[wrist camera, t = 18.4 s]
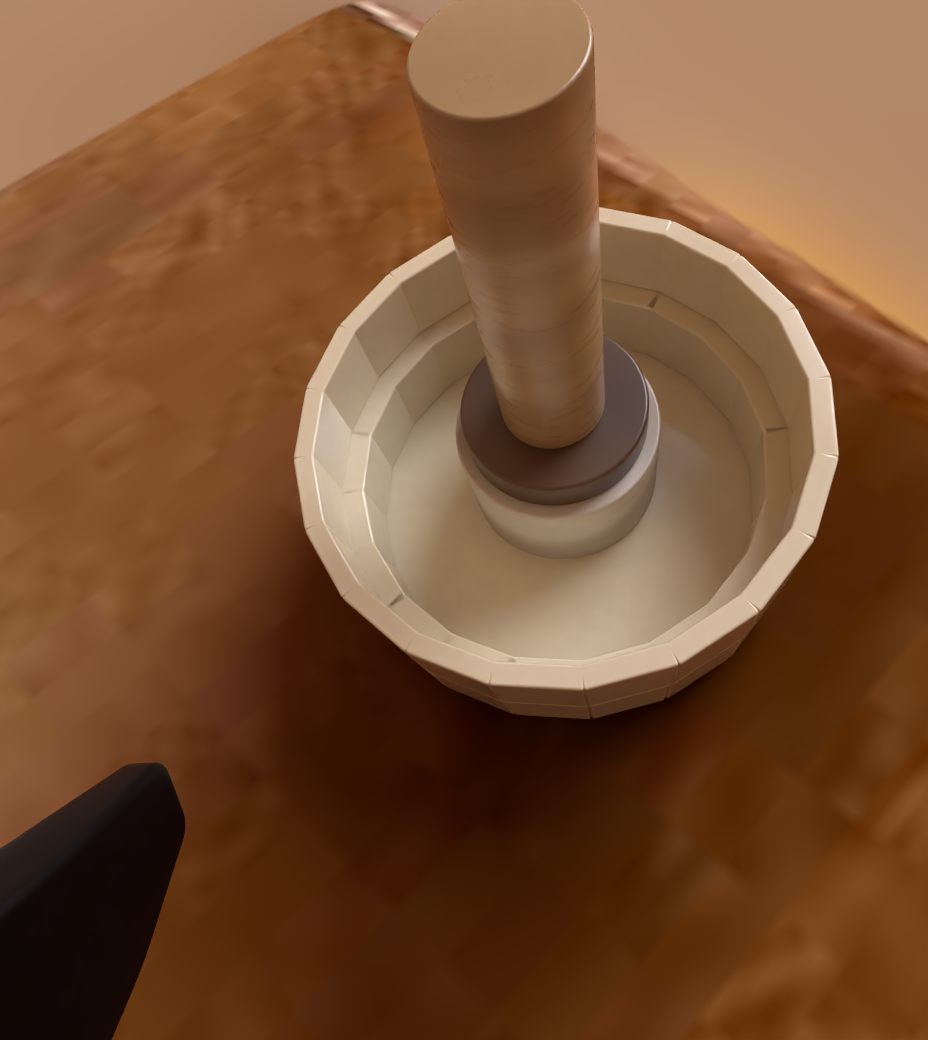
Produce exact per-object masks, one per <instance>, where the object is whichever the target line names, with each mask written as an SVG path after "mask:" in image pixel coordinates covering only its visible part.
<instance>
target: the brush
mask: <svg viewBox="0 0 928 1040" xmlns="http://www.w3.org/2000/svg"><path fill="white" fill-rule="evenodd" d="M407 78H408V83H409V86H410V90H411V93H412V97H413V100H414V104H415V107H416V111H417V115H418V118H419V122H420V125H421V129H422V132H423V136H424V139H425V143H426V147H427V150H428V154H429V157H430V161H431V164H432V168H433V172H434V175H435V179H436V182H437V186H438V189H439V193H440V196H441V200H442V204H443V207H444V211H445V214H446V218H447V221H448V225H449V228H450V232H451V236H452V239H453V243H454V246H455V250H456V253H457V257H458V260H459V264H460V268H461V271H462V275H463V278H464V282H465V285H466V289H467V293H468V296H469V300H470V303H471V307H472V310H473V314H474V317H475V321H476V325H477V328H478V332H479V335H480V339H481V342H482V346H483V349H484V353H485V357H484V358H483V359H482V360H481V361H480V362H479V364H478V365H477V366H476V368H475V369H474V370H473V372H472V374H471V376H470V377H469V379H468V382H467V384H466V387H465V389H464V392H463V396H462V400H461V407H460V410H459V414H458V417H457V424H456V445H457V450H458V455H459V458H460V461H461V464H462V466H463V469H464V471H465V473H466V476H467V478H468V480H469V483H470V485H471V487H472V490H473V492H474V494H475V497H476V499H477V501H478V504H479V506H480V508H481V510H482V512H483V514H484V516H485V518H486V520H487V521H488V523H489V524H490V525H491V527H492V528H493V529H494V530H495V531H496V532H497V533H498V534H499V535H500V536H501V537H502V538H503V539H505V540H506V541H507V542H508V543H510V544H512V545H513V546H515V547H517V548H518V549H520V550H523V551H525V552H527V553H530V554H533V555H537V556H540V557H546V558H553V559H569V558H579V557H583V556H588V555H591V554H594V553H597V552H600V551H602V550H604V549H606V548H608V547H610V546H612V545H614V544H615V543H617V542H618V541H620V540H621V539H622V538H624V537H625V536H626V535H627V534H628V533H629V532H630V531H631V530H632V529H633V528H634V527H635V526H636V525H637V524H638V522H639V521H640V520H641V518H642V517H643V515H644V514H645V512H646V510H647V508H648V506H649V504H650V501H651V498H652V495H653V492H654V486H655V479H656V469H657V460H658V451H659V441H660V432H661V417H660V411H659V405H658V402H657V399H656V396H655V393H654V391H653V389H652V387H651V385H650V383H649V382H648V381H647V379H646V378H645V376H644V375H643V373H642V371H641V369H640V367H639V366H638V364H637V363H636V361H635V360H634V358H633V357H632V356H631V355H630V354H629V353H628V352H627V351H626V350H625V349H624V348H623V347H622V346H620V345H619V344H618V343H617V342H615V341H614V340H612V339H611V338H609V337H607V336H605V335H603V325H602V292H601V260H600V228H599V196H598V163H597V131H596V101H595V100H596V99H595V67H594V38H593V30H592V26H591V24H590V21H589V18H588V17H587V15H586V13H585V12H584V10H583V9H582V8H581V7H580V5H579V4H578V3H577V2H575V1H574V0H455V1H454V2H452V3H450V4H448V5H447V6H445V7H444V8H442V9H441V10H440V11H438V12H437V13H436V14H435V15H434V16H433V17H432V18H430V19H429V20H428V21H427V22H426V24H425V25H424V26H423V27H422V28H421V30H420V31H419V32H418V34H417V35H416V37H415V39H414V41H413V43H412V45H411V48H410V51H409V54H408V60H407Z"/></svg>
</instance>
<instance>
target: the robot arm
mask: <svg viewBox="0 0 928 1040" xmlns="http://www.w3.org/2000/svg"><path fill="white" fill-rule="evenodd" d="M184 833H185V817H184V813H183V810H182V807H181V805H180V802H179V799H178V797H177V794H176V791H175V789H174V786H173V783H172V781H171V778H170V775H169V773H168V771H167V769H166V768H165V767H164V766H163V765H162V764H159V763H136V764H129V765H126V766H124V767H122V768H121V769H119V770H118V771H116V772H115V773H113V774H112V775H110V776H109V777H107V778H106V779H104V780H103V781H101V782H100V783H98V784H97V785H95V786H94V787H92V788H91V789H89V790H88V791H86V792H85V793H83V794H82V795H80V796H78V797H77V798H75V799H74V800H72V801H71V802H69V803H68V804H66V805H65V806H63V807H62V808H60V809H59V810H57V811H56V812H54V813H53V814H51V815H50V816H48V817H47V818H45V819H44V820H42V821H41V822H39V823H38V824H36V825H35V826H33V827H32V828H30V829H29V830H27V831H26V832H24V833H23V834H21V835H20V836H18V837H17V838H15V839H14V840H12V841H11V842H9V843H8V844H6V845H5V846H3V847H2V848H0V1040H112V1037H113V1035H114V1033H115V1030H116V1028H117V1026H118V1023H119V1021H120V1019H121V1016H122V1014H123V1011H124V1009H125V1007H126V1004H127V1002H128V1000H129V997H130V995H131V993H132V990H133V988H134V985H135V983H136V980H137V978H138V975H139V973H140V970H141V968H142V965H143V962H144V959H145V957H146V954H147V951H148V948H149V945H150V942H151V939H152V936H153V933H154V930H155V926H156V923H157V920H158V917H159V914H160V911H161V907H162V904H163V901H164V898H165V895H166V892H167V889H168V885H169V882H170V879H171V876H172V873H173V870H174V866H175V863H176V860H177V857H178V854H179V851H180V848H181V844H182V841H183V838H184Z"/></svg>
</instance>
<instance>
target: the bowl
mask: <svg viewBox="0 0 928 1040" xmlns="http://www.w3.org/2000/svg"><path fill="white" fill-rule="evenodd" d="M599 228H600V260H601V292H602V325H603V335H605V336H607V337H609V338H611V339H612V340H614V341H615V342H617V343H618V344H619V345H620V346H622V347H623V348H624V349H625V350H626V351H627V352H628V353H629V354H630V355H631V356H632V357H633V358H634V360H635V361H636V363H637V364H638V366H639V367H640V369H641V371H642V373H643V375H644V376H645V378H646V379H647V381H648V382H649V383H650V385H651V387H652V389H653V391H654V393H655V396H656V399H657V402H658V405H659V411H660V417H661V432H660V441H659V451H658V460H657V469H656V479H655V486H654V492H653V495H652V498H651V501H650V504H649V506H648V508H647V510H646V512H645V514H644V515H643V517H642V518H641V520H640V521H639V522H638V524H637V525H636V526H635V527H634V528H633V529H632V530H631V531H630V532H629V533H628V534H627V535H626V536H625V537H624V538H622V539H621V540H620V541H618V542H617V543H615V544H614V545H612V546H610V547H608V548H606V549H604V550H602V551H600V552H597V553H594V554H591V555H588V556H583V557H579V558H569V559H553V558H546V557H540V556H537V555H533V554H530V553H527V552H525V551H523V550H520V549H518V548H517V547H515V546H513V545H512V544H510V543H508V542H507V541H506V540H505V539H503V538H502V537H501V536H500V535H499V534H498V533H497V532H496V531H495V530H494V529H493V528H492V527H491V525H490V524H489V523H488V521H487V520H486V518H485V516H484V514H483V512H482V510H481V508H480V506H479V504H478V501H477V499H476V497H475V494H474V492H473V490H472V487H471V485H470V483H469V480H468V478H467V476H466V473H465V471H464V469H463V466H462V464H461V461H460V458H459V455H458V450H457V445H456V424H457V417H458V414H459V410H460V407H461V400H462V396H463V392H464V389H465V387H466V384H467V382H468V379H469V377H470V376H471V374H472V372H473V370H474V369H475V368H476V366H477V365H478V364H479V362H480V361H481V360H482V359H483V358H484V357H485V353H484V349H483V346H482V342H481V339H480V335H479V332H478V328H477V325H476V321H475V317H474V314H473V310H472V307H471V303H470V300H469V296H468V293H467V289H466V285H465V282H464V278H463V275H462V271H461V268H460V264H459V260H458V257H457V253H456V250H455V246H454V243H453V239H452V236H448V237H447V238H445V239H444V240H442V241H440V242H439V243H437V244H435V245H434V246H432V247H431V248H429V249H427V250H426V251H424V252H423V253H421V254H419V255H418V256H416V257H414V258H413V259H411V260H410V261H408V262H406V263H405V264H403V265H401V266H400V267H398V268H397V269H395V270H393V271H392V272H390V275H389V274H388V275H387V276H386V277H385V278H384V279H383V280H382V281H381V282H380V283H379V284H378V285H377V286H376V287H375V288H374V289H373V290H372V292H371V293H370V294H369V295H368V296H367V297H366V298H365V299H364V300H363V301H362V302H361V303H360V304H359V305H358V306H357V307H356V308H355V309H354V310H353V311H352V313H351V314H350V315H349V316H348V317H347V318H346V319H345V320H344V321H343V322H342V323H341V324H340V326H339V327H338V328H337V330H336V332H335V334H334V336H333V338H332V340H331V342H330V344H329V345H328V347H327V349H326V351H325V353H324V355H323V357H322V359H321V361H320V363H319V365H318V366H317V368H316V370H315V372H314V374H313V376H312V378H311V380H310V382H309V384H308V386H307V390H306V392H305V397H304V403H303V408H302V414H301V420H300V425H299V431H298V436H297V442H296V448H295V453H294V466H295V472H296V478H297V484H298V491H299V497H300V503H301V510H302V516H303V522H304V529H305V530H306V534H307V536H308V538H309V540H310V541H311V543H312V545H313V547H314V549H315V550H316V552H317V554H318V556H319V558H320V559H321V561H322V563H323V565H324V567H325V568H326V570H327V572H328V574H329V576H330V577H331V579H332V581H333V583H334V585H335V586H336V588H337V590H338V592H339V594H340V595H341V597H342V598H343V599H344V601H346V602H347V603H348V604H349V605H350V606H351V607H353V608H354V609H355V610H356V611H357V612H358V613H359V614H361V615H362V616H363V617H364V618H365V619H366V620H368V621H369V622H370V623H371V624H372V625H373V626H374V627H376V628H377V629H378V630H379V631H380V632H381V633H383V634H384V635H385V636H386V637H387V638H388V639H389V640H391V641H392V642H393V643H394V644H395V645H396V646H398V647H399V648H400V649H401V650H402V651H403V652H405V653H406V654H407V655H408V656H409V657H411V658H412V659H413V660H414V661H415V662H417V663H418V664H419V665H420V666H422V667H423V668H424V669H425V670H426V671H428V672H429V673H430V674H431V675H432V676H434V677H435V678H436V679H437V680H439V681H440V682H441V683H442V684H443V685H445V686H447V687H448V688H450V689H452V690H455V691H457V692H460V693H462V694H465V695H467V696H470V697H472V698H475V699H477V700H480V701H482V702H485V703H487V704H489V705H492V706H494V707H497V708H499V709H502V710H504V711H507V712H509V713H512V714H514V713H515V714H516V715H529V716H545V717H561V718H577V719H590V718H598V717H601V716H605V715H609V714H613V713H617V712H620V711H624V710H628V709H632V708H636V707H639V706H643V705H647V704H651V703H655V702H658V701H662V700H664V699H665V698H669V697H671V696H672V695H674V694H676V693H677V692H679V691H680V690H682V689H683V688H685V687H686V686H688V685H689V684H691V683H692V682H694V681H695V680H697V679H698V678H700V677H701V676H703V675H704V674H706V673H707V672H709V671H710V670H712V669H713V668H715V667H716V666H718V665H719V664H721V663H722V662H724V661H725V660H727V659H728V658H729V657H730V656H732V655H733V654H734V652H735V651H736V650H737V648H738V647H739V646H740V644H741V643H742V642H743V640H744V639H745V638H746V636H747V635H748V634H749V632H750V631H751V630H752V628H753V627H754V626H755V624H756V623H757V622H758V620H759V619H760V618H761V616H762V615H763V614H764V612H765V611H766V610H767V608H768V607H769V606H770V604H771V603H772V602H773V600H774V599H775V598H776V596H777V595H778V593H779V592H780V590H781V589H782V587H783V586H784V584H785V583H786V582H787V580H788V579H789V577H790V576H791V574H792V573H793V571H794V570H795V568H796V567H797V565H798V564H799V562H800V561H801V559H802V558H803V557H804V555H805V554H806V552H807V551H808V549H809V548H810V546H811V545H812V543H813V542H814V539H815V538H816V535H817V532H818V528H819V525H820V521H821V518H822V515H823V511H824V508H825V504H826V501H827V497H828V494H829V490H830V487H831V484H832V480H833V477H834V473H835V470H836V466H837V463H838V455H839V452H838V442H837V431H836V421H835V411H834V400H833V390H832V380H831V378H830V374H829V372H828V370H827V368H826V366H825V364H824V362H823V360H822V358H821V356H820V354H819V352H818V350H817V348H816V346H815V344H814V342H813V340H812V338H811V336H810V334H809V332H808V330H807V328H806V326H805V324H804V322H803V320H802V318H801V316H800V314H799V312H798V310H797V309H795V306H794V305H793V304H792V303H791V302H790V301H789V300H788V299H787V298H786V297H785V296H784V295H783V294H782V293H780V292H779V291H778V290H777V289H776V288H775V287H774V286H773V285H772V284H771V283H770V282H769V281H768V280H767V279H766V278H765V277H764V276H763V275H762V274H761V273H760V272H758V271H757V270H756V269H755V268H754V267H753V266H752V265H751V264H750V263H749V262H748V261H747V260H746V259H745V258H744V257H743V256H740V254H738V253H736V252H734V251H732V250H730V249H728V248H726V247H724V246H722V245H720V244H718V243H716V242H714V241H712V240H710V239H708V238H706V237H704V236H702V235H700V234H698V233H696V232H694V231H692V230H690V229H688V228H686V227H684V226H682V225H680V224H678V223H676V222H672V221H670V220H665V219H659V218H654V217H649V216H643V215H638V214H633V213H627V212H622V211H617V210H611V209H606V208H601V207H599Z"/></svg>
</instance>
